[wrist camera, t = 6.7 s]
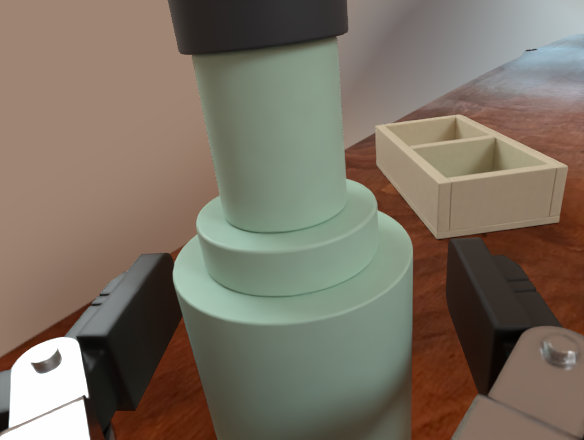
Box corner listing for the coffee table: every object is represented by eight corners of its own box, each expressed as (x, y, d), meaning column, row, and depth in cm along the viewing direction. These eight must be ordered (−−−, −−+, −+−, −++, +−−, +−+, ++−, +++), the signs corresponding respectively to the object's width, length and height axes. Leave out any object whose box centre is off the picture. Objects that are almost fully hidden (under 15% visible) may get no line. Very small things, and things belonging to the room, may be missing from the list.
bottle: (244, 633, 11) (19, -31, 5) (247, 454, 16) (136, -8, 9) (436, 602, 12) (480, -88, 5) (384, 433, 16) (369, -38, 10)
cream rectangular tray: (436, 239, 29) (438, 183, 27) (376, 165, 43) (375, 125, 41) (559, 222, 29) (569, 165, 27) (458, 154, 43) (460, 114, 41)
